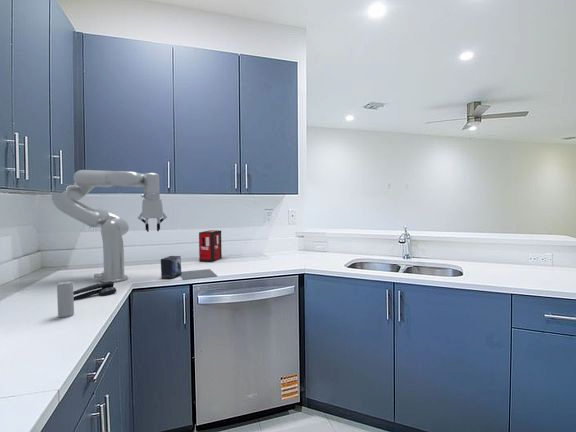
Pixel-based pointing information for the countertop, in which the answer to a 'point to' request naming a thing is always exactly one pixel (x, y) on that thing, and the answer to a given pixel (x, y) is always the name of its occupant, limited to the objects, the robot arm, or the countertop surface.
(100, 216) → the robot arm
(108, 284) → the can opener
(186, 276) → the mat
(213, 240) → the cleaning product box
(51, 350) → the countertop surface
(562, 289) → the countertop surface
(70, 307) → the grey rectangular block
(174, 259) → the small box
